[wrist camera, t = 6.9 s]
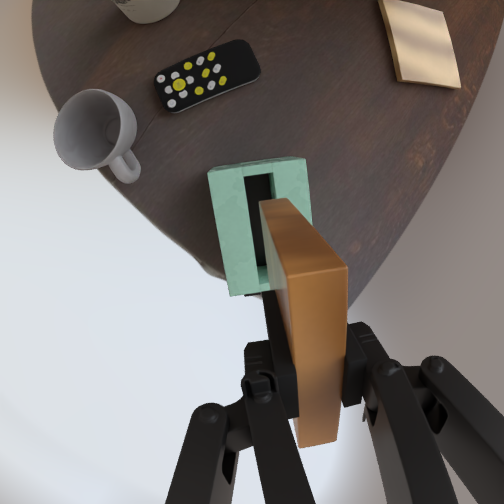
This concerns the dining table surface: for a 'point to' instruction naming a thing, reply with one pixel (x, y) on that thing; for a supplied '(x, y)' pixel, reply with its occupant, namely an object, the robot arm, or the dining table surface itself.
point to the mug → (97, 134)
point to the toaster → (252, 214)
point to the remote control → (206, 75)
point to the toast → (309, 314)
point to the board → (420, 44)
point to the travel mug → (146, 9)
